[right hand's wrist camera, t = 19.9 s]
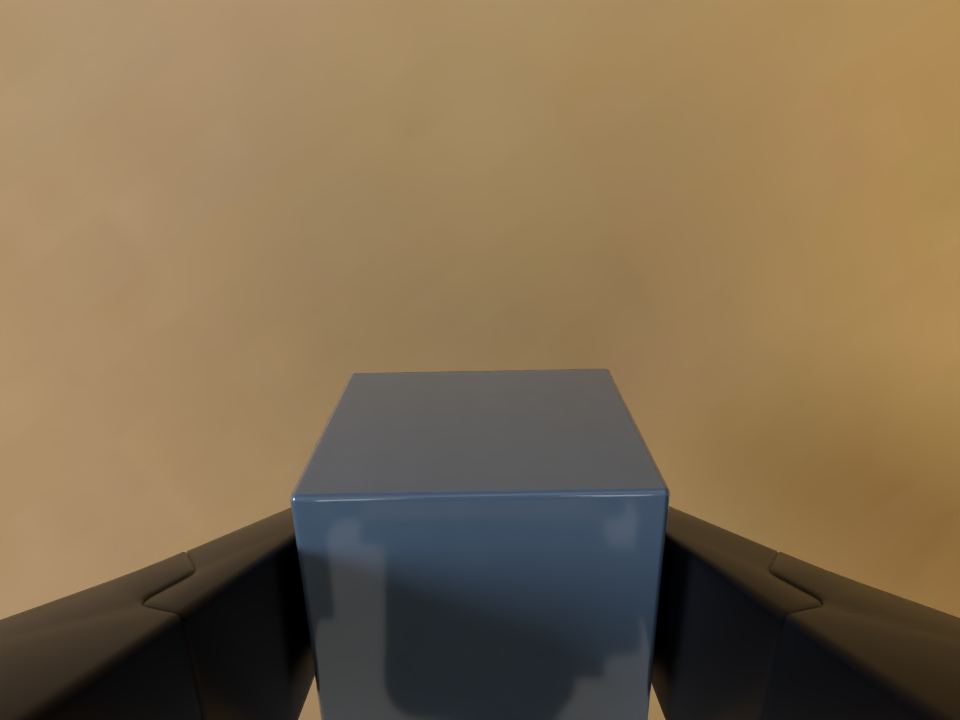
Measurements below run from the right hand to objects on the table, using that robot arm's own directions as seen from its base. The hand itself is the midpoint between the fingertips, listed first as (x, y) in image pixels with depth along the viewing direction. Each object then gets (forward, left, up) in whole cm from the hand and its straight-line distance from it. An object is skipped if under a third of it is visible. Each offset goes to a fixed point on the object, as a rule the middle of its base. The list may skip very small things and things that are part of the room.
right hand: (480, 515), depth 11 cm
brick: (0, 0, -1) cm, 1 cm away
